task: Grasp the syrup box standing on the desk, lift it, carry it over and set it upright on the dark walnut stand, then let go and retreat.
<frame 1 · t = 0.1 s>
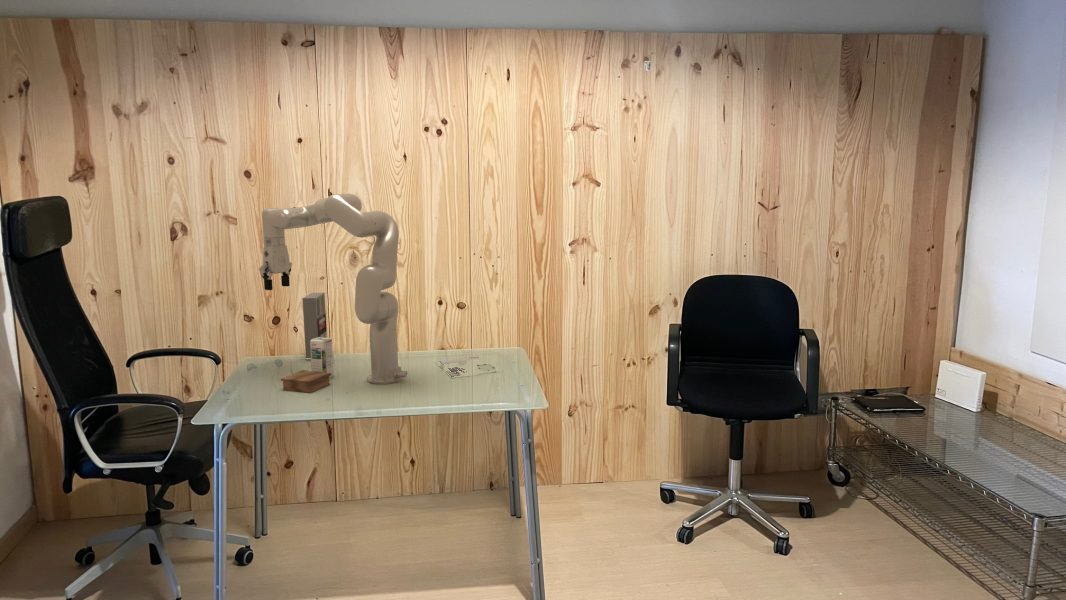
hand: (277, 288, 287), 31 cm above the table, tool pointing down, fingers open, 9 cm apart
syrup box: (323, 378, 280), on the table
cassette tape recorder: (318, 356, 313), on the table
office telephone: (468, 370, 292), on the table
walnut stand: (306, 386, 268), on the table
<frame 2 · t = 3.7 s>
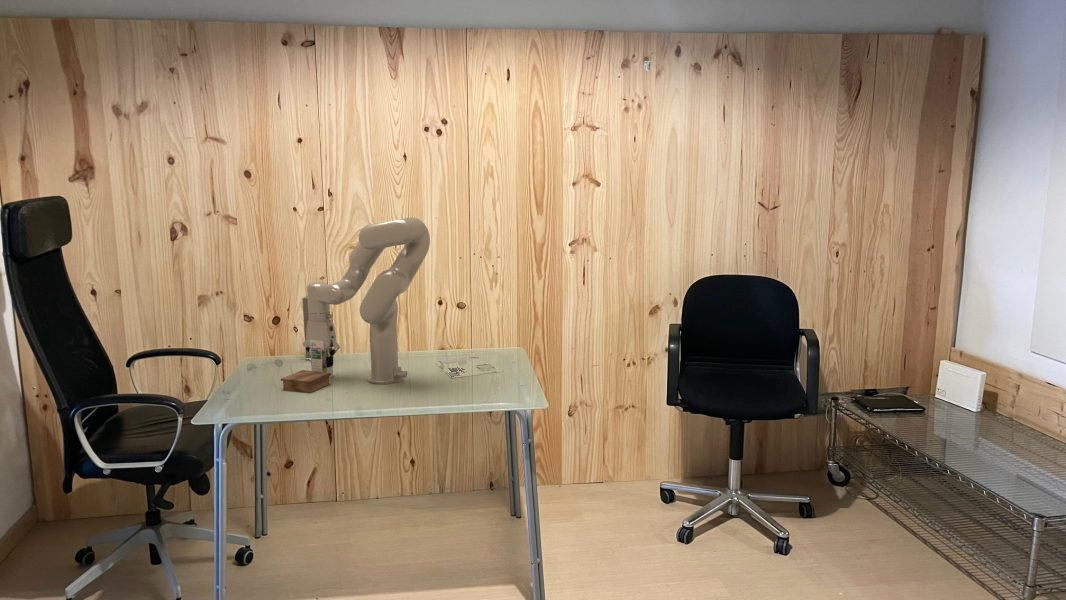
hand: (322, 365, 279), 5 cm above the table, tool pointing down, fingers closed on syrup box, 5 cm apart
syrup box: (322, 378, 280), on the table, touching gripper
everything else where it was.
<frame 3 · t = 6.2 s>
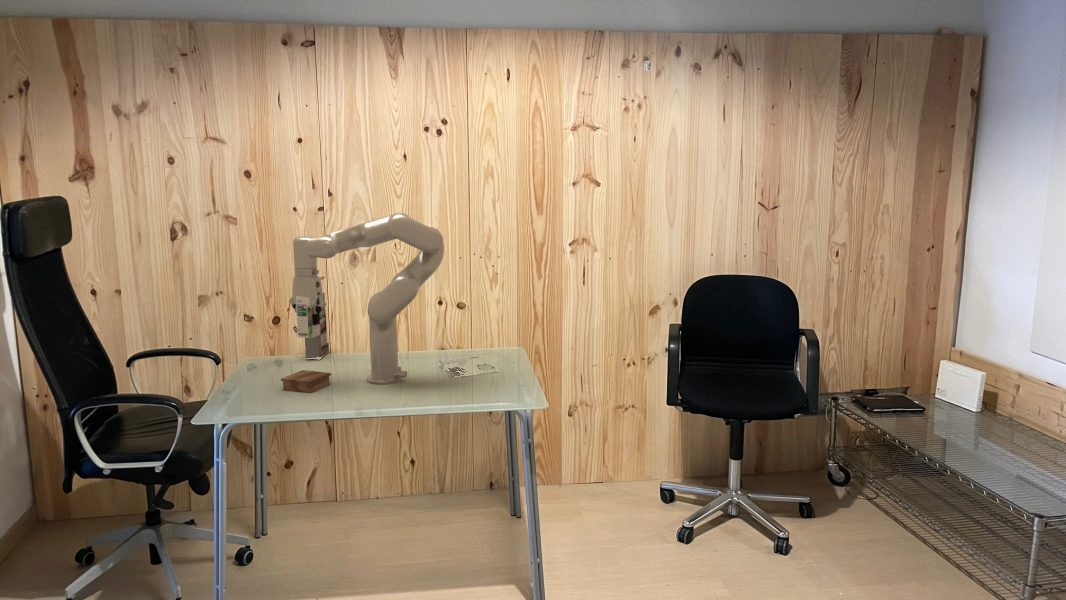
hand: (308, 323, 269), 22 cm above the table, tool pointing down, fingers closed on syrup box, 5 cm apart
syrup box: (309, 336, 270), point 17 cm above the table, touching gripper
everything else where it was.
when the fingers open (10 cm above the table, at t = 9.1 s): syrup box drops 1 cm, resting on walnut stand.
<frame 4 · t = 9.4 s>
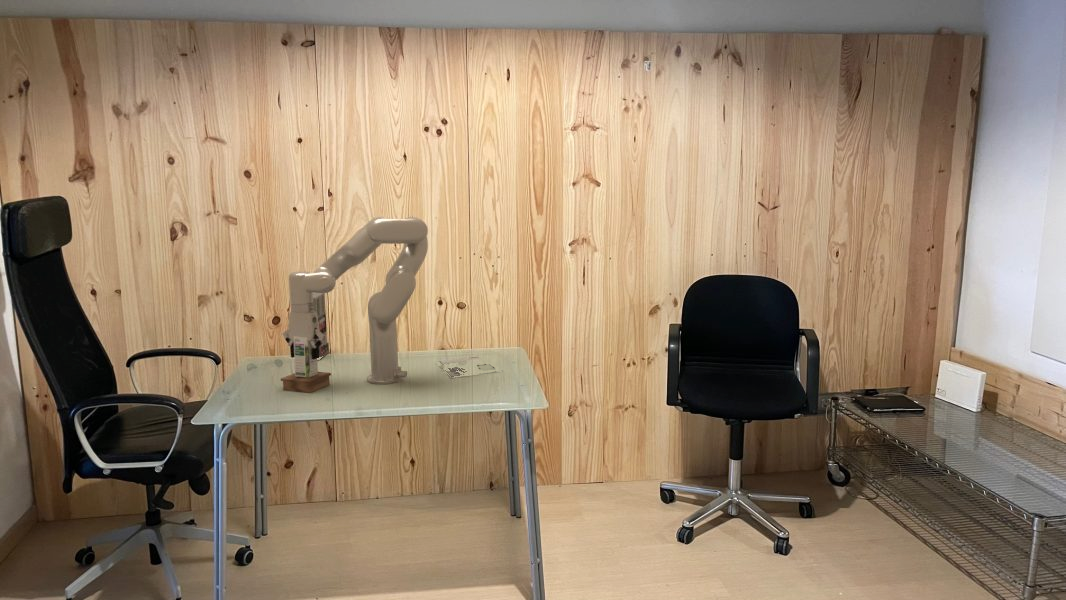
hand: (305, 357, 267), 11 cm above the table, tool pointing down, fingers open, 8 cm apart
syrup box: (306, 376, 268), point 4 cm above the table, touching walnut stand
everything else where it was.
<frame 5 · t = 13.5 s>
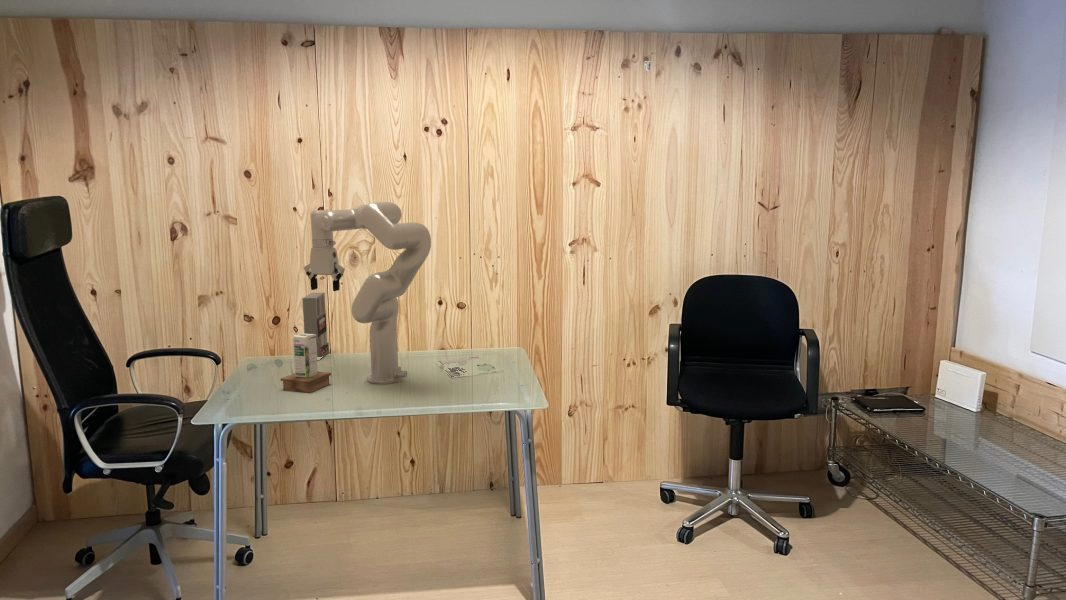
hand: (325, 290, 287), 30 cm above the table, tool pointing down, fingers open, 9 cm apart
nothing on the table moved.
at the end: syrup box 0.2 cm off-centre on the walnut stand, point 3.8 cm above the walnut stand's base; syrup box tilted 0°; the gripper is holding nothing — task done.
